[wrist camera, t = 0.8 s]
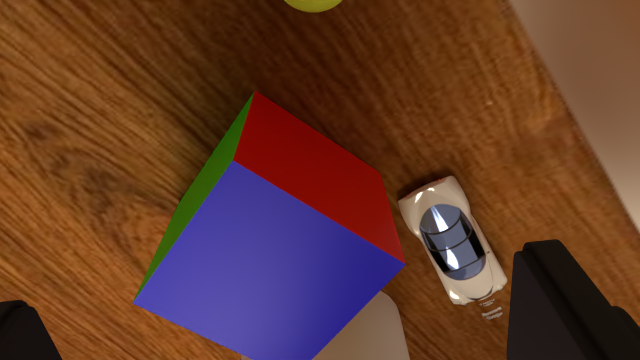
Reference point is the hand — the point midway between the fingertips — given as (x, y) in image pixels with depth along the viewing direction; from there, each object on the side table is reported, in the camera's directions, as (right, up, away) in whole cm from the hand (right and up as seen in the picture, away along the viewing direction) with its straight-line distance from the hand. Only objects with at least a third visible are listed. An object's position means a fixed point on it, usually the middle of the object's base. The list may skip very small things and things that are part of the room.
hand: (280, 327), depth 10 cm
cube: (-2, +3, +17) cm, 18 cm away
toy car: (+9, -1, +20) cm, 22 cm away
